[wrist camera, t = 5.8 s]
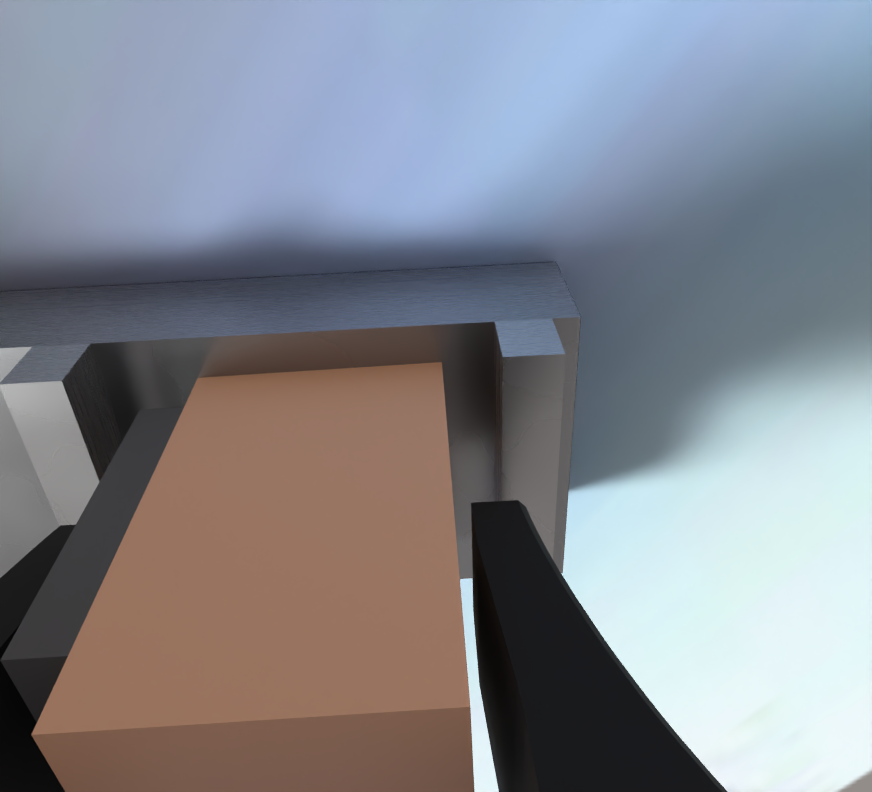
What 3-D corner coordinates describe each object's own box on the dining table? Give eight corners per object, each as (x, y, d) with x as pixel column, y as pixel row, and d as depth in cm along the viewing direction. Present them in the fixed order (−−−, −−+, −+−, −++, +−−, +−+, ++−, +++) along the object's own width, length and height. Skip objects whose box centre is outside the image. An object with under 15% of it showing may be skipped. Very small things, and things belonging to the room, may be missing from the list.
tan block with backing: (451, 541, 12) (479, 909, 8) (210, 556, 12) (92, 934, 8) (441, 361, 10) (469, 707, 6) (156, 379, 10) (-44, 738, 6)
